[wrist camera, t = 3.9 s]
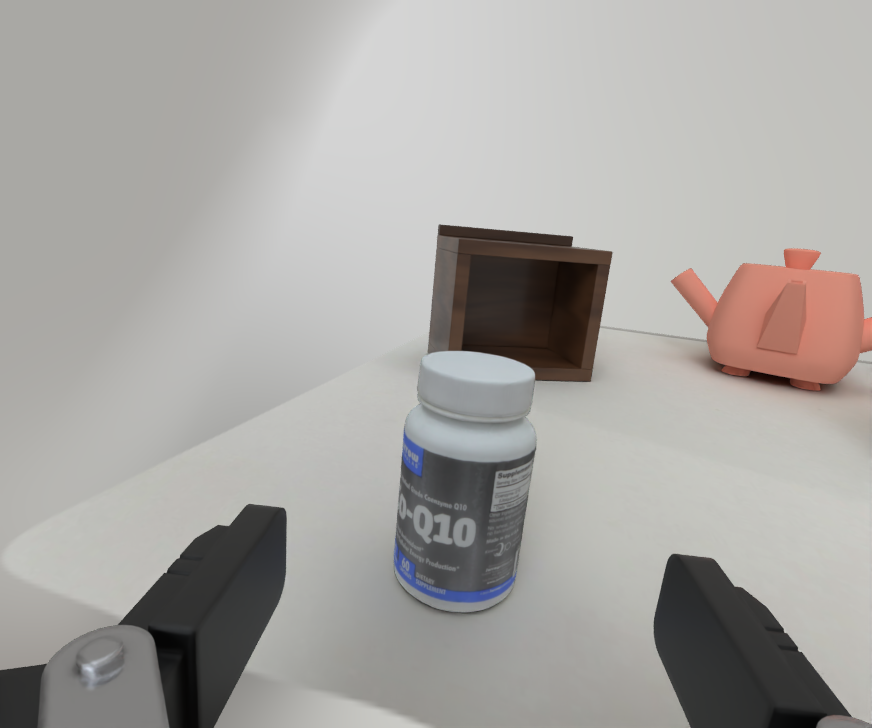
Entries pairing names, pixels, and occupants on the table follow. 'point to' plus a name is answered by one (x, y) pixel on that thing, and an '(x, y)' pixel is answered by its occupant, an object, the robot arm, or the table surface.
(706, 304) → the teapot
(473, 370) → the pill bottle
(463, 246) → the shelf
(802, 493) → the table surface
